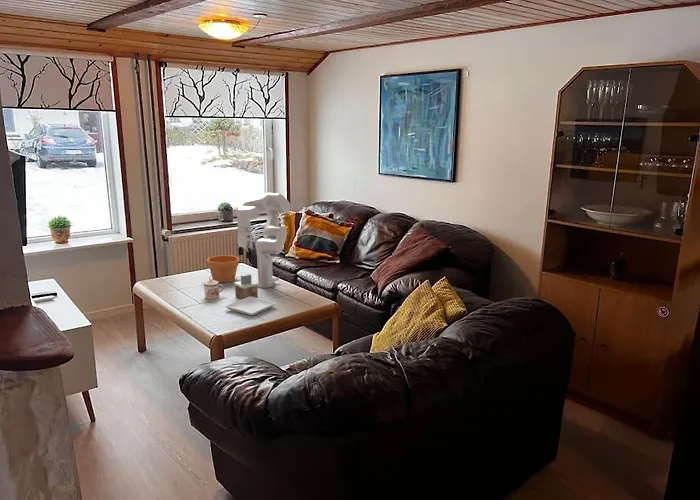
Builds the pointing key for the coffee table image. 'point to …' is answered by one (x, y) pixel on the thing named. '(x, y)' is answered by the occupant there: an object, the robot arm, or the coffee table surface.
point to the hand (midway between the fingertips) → (245, 256)
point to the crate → (246, 292)
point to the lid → (246, 282)
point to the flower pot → (223, 267)
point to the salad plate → (250, 305)
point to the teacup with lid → (212, 289)
